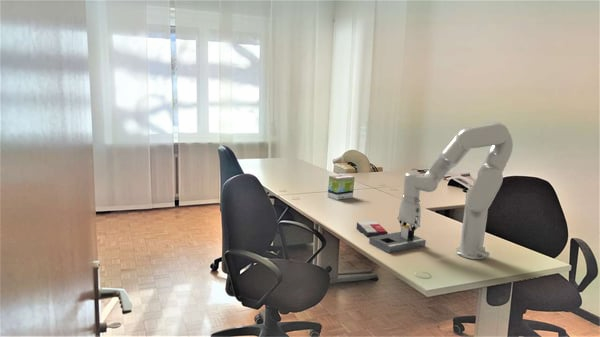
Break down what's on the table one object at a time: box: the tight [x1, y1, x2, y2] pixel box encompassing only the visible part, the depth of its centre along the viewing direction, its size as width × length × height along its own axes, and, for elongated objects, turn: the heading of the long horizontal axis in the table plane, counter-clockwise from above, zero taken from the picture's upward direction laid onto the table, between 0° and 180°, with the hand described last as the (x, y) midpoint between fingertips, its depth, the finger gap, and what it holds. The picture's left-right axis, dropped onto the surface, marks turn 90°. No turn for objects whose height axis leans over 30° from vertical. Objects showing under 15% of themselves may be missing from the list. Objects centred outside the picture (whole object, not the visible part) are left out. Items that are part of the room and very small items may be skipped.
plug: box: [400, 224, 413, 240], centre depth 200 cm, size 4×4×8 cm
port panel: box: [368, 231, 427, 255], centre depth 197 cm, size 14×22×4 cm, turn 120°
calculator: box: [356, 221, 389, 238], centre depth 214 cm, size 11×4×15 cm
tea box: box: [327, 173, 355, 201], centre depth 283 cm, size 15×10×15 cm, turn 129°
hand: (407, 236), depth 200 cm, fingers closed on plug, 4 cm apart
